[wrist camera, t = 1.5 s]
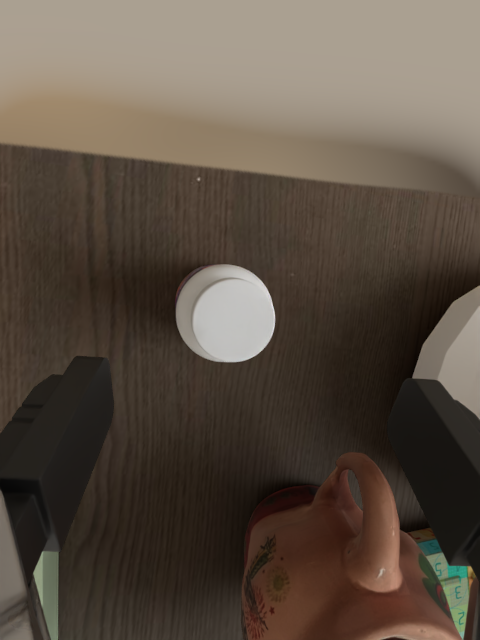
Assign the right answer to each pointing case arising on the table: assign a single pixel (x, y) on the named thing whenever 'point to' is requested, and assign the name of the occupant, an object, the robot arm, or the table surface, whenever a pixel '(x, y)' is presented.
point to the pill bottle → (224, 313)
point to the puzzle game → (447, 576)
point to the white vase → (455, 352)
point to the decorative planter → (338, 566)
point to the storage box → (48, 589)
